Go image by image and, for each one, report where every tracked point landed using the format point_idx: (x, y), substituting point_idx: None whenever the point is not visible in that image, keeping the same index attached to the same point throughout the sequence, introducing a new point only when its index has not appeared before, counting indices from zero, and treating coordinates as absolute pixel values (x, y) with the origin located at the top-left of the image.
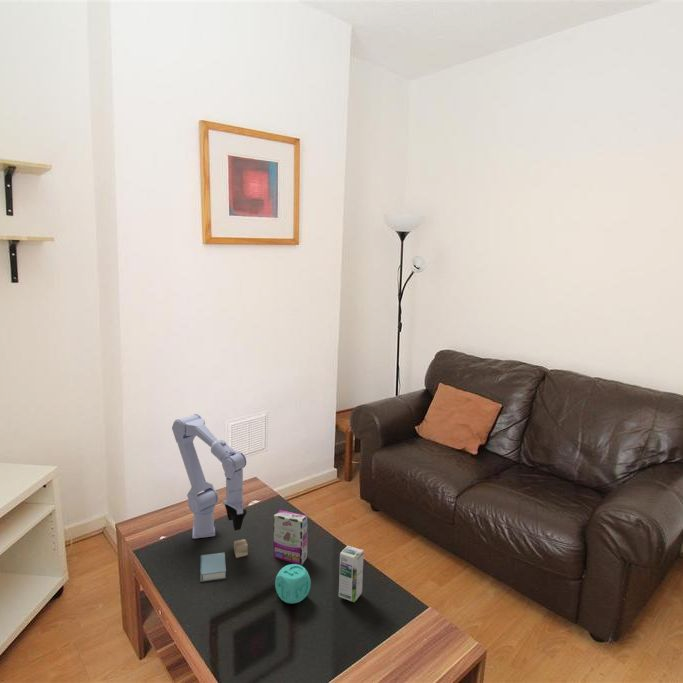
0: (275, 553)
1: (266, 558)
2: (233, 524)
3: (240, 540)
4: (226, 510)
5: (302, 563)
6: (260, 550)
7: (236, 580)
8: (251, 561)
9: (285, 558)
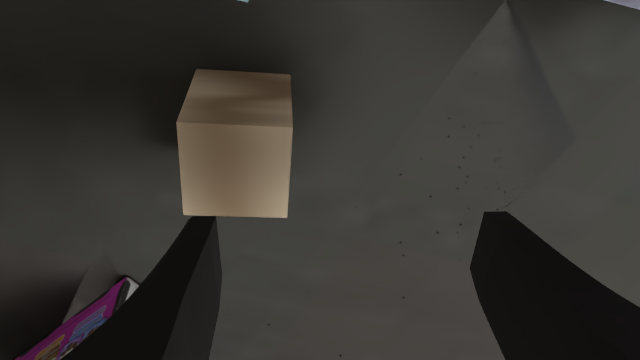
0: (104, 316)
1: (153, 246)
2: (174, 265)
3: (282, 181)
4: (605, 286)
5: None
6: (261, 239)
7: None
8: (147, 161)
9: (61, 338)
